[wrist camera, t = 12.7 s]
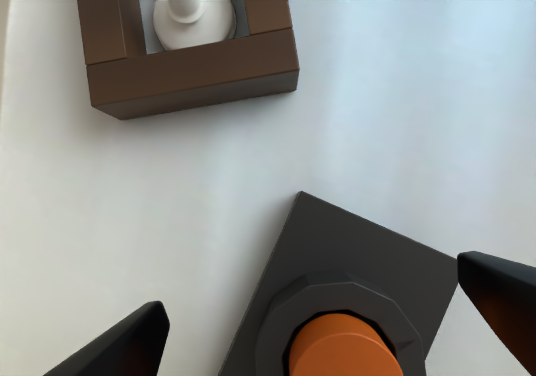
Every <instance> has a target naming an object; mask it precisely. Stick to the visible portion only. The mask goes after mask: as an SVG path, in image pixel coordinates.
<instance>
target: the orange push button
mask: <svg viewBox="0 0 536 376" xmlns="http://www.w3.org/2000/svg"><path fill="white" fill-rule="evenodd" d="M289 372H290V376H403V373H402V370H401V368H400V366H399V364H398V362H397V361H396V359H395V357H394V356H393V355H392V353H391V352H390V350H389V349H388V348H387V346H386V345H385V344H384V342H383V341H382V339H381V338H380V337H379V335H378V334H377V333H376V332H375V330H374V329H373V328H372V327H370V326H369V325H368V324H367V323H365V322H364V321H362V320H360V319H358V318H356V317H353V316H350V315H346V314H327V315H323V316H320V317H318V318H316V319H314V320H312V321H310V322H309V323H308V324H306V325H305V326H304V327H303V328H302V329H301V330H300V332H299V333H298V334H297V336H296V337H295V339H294V341H293V344H292V347H291V350H290V355H289Z"/></svg>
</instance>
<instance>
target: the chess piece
mask: <svg viewBox="0 0 536 376" xmlns="http://www.w3.org/2000/svg"><path fill="white" fill-rule="evenodd" d="M153 25H154V29H155V32H156V34H157V36H158V38H159V40H160V42H161V44H162V46H163V47H164V48H165V50H166V51H170V50H175V49H181V48H186V47H192V46H197V45H203V44H208V43H213V42H219V41H224V40H230V39H232V38H233V36H234V33H235V29H236V13H235V9H234V6H233V4H232V2H231V0H157V1H156V3H155V6H154V10H153Z"/></svg>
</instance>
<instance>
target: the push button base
mask: <svg viewBox="0 0 536 376" xmlns="http://www.w3.org/2000/svg"><path fill="white" fill-rule="evenodd" d="M457 285H458V277H457V259H455V258H453V257H451V256H448V255H446V254H444V253H442V252H439V251H437V250H435V249H433V248H430V247H428V246H426V245H423V244H421V243H419V242H417V241H414V240H412V239H410V238H408V237H405V236H403V235H401V234H399V233H396V232H394V231H392V230H389V229H387V228H385V227H383V226H380V225H378V224H376V223H374V222H371V221H369V220H367V219H364V218H362V217H360V216H358V215H355V214H353V213H351V212H349V211H346V210H344V209H342V208H340V207H337V206H335V205H333V204H330V203H328V202H326V201H324V200H321V199H319V198H317V197H315V196H312V195H310V194H308V193H306V192H303V191H300V192H298V195H297V197H296V199H295V202H294V204H293V206H292V208H291V211H290V213H289V215H288V217H287V220H286V222H285V224H284V226H283V229H282V231H281V233H280V235H279V238H278V240H277V242H276V244H275V247H274V249H273V251H272V254H271V256H270V258H269V260H268V263H267V265H266V267H265V269H264V272H263V274H262V276H261V278H260V281H259V283H258V285H257V287H256V290H255V292H254V294H253V296H252V299H251V301H250V303H249V305H248V308H247V310H246V312H245V315H244V317H243V319H242V321H241V324H240V326H239V328H238V330H237V333H236V335H235V337H234V339H233V342H232V344H231V346H230V348H229V351H228V353H227V355H226V357H225V360H224V362H223V364H222V367H221V369H220V371H219V373H218V376H290V372H289V355H290V350H291V347H292V344H293V341H294V339H295V337H296V336H297V334H298V333H299V332H300V330H301V329H302V328H303V327H304V326H305V325H306V324H308V323H309V322H310V321H312V320H314V319H316V318H318V317H320V316H323V315H327V314H346V315H350V316H353V317H356V318H358V319H360V320H362V321H364V322H365V323H367V324H368V325H369V326H370V327H372V328H373V329H374V330H375V332H376V333H377V334H378V335H379V337H380V338H381V339H382V341H383V342H384V344H385V345H386V346H387V348H388V349H389V350H390V352H391V353H392V355H393V356H394V357H395V359H396V361H397V362H398V364H399V366H400V368H401V370H402V373H403V376H426V369H425V359H426V357H427V354H428V352H429V350H430V348H431V345H432V343H433V341H434V338H435V336H436V334H437V331H438V329H439V327H440V324H441V322H442V320H443V317H444V315H445V313H446V310H447V308H448V306H449V303H450V301H451V299H452V296H453V294H454V292H455V289H456V287H457Z"/></svg>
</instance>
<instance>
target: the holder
mask: <svg viewBox="0 0 536 376" xmlns="http://www.w3.org/2000/svg"><path fill="white" fill-rule="evenodd" d="M77 3H78V10H79V18H80V25H81V33H82V41H83V48H84V56H85V64H86V65H87V66H86V69H87V77H88V84H89V92H90V100H91V106H92V107H94V108H96V109H98V110H100V111H102V112H104V113H106V114H108V115H110V116H112V117H115V118H117V119H119V120H127V119H133V118H139V117H144V116H150V115H156V114H162V113H167V112H173V111H179V110H185V109H190V108H196V107H202V106H208V105H213V104H219V103H225V102H231V101H237V100H242V99H248V98H254V97H260V96H265V95H271V94H277V93H283V92H288V91H294V90H296V88H297V82H298V76H299V70H300V68H299V62H298V56H297V50H296V44H295V38H294V32H293V29H292V28H293V26H292V20H291V14H290V8H289V2H288V0H244V3H245V9H246V15H247V22H248V28H249V34H250V36H246V37H241V38H235V39H230V40H224V41H219V42H213V43H208V44H203V45H197V46H192V47H186V48H181V49H175V50H170V51H164V52H159V53H153V54H148V55H147V52H146V45H145V38H144V31H143V24H142V17H141V10H140V3H139V0H77Z"/></svg>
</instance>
